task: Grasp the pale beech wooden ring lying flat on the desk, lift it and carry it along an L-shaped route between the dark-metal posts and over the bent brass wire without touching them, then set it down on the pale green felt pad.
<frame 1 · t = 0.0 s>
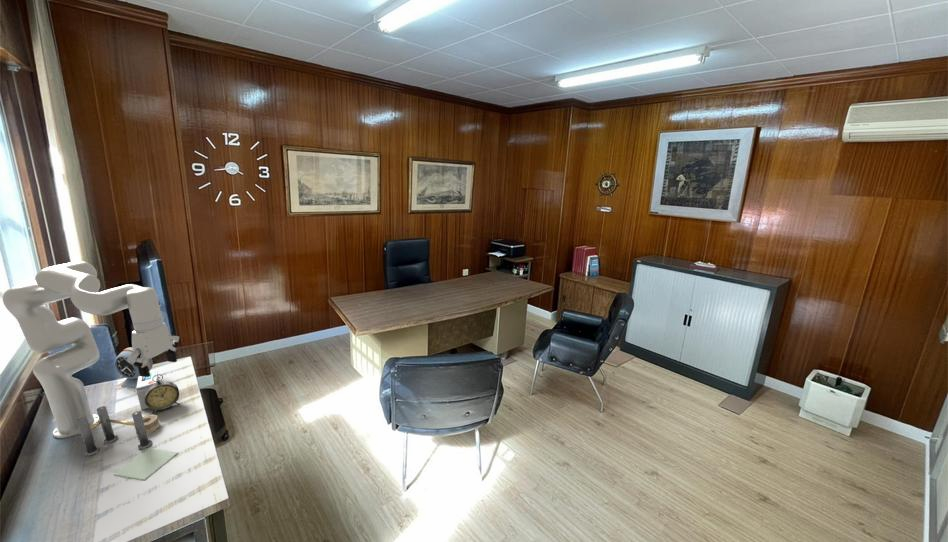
hand: (159, 368, 127), 31 cm above the table, fingers open, 9 cm apart
ring: (148, 429, 142), on the table
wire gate: (128, 442, 135), on the table
alarm clock 2: (139, 382, 172), on the table
alarm clock: (165, 408, 155), on the table
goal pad: (147, 463, 126), on the table
light bulb box: (152, 401, 159), on the table
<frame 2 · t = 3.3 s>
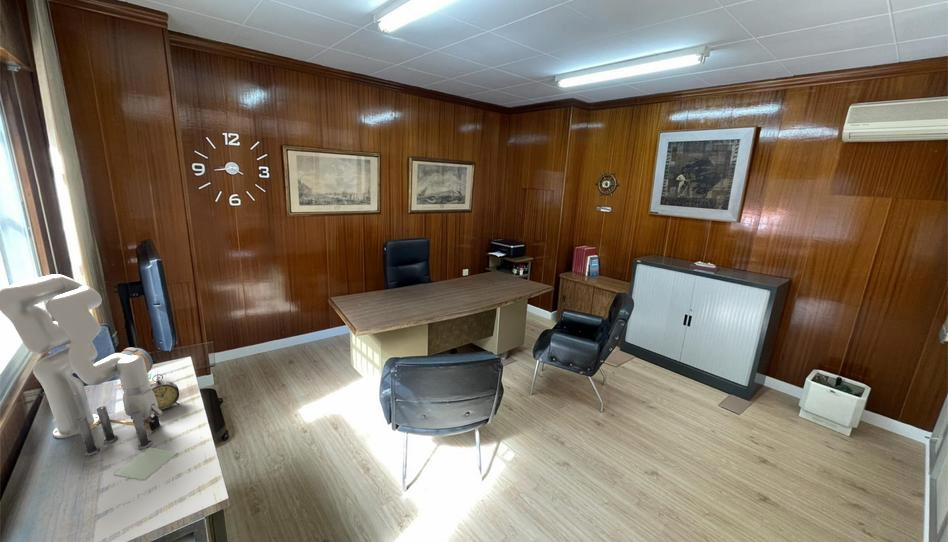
hand: (147, 427, 142), 1 cm above the table, fingers closed on ring, 6 cm apart
ring: (148, 429, 142), on the table, touching gripper
everything else where it was.
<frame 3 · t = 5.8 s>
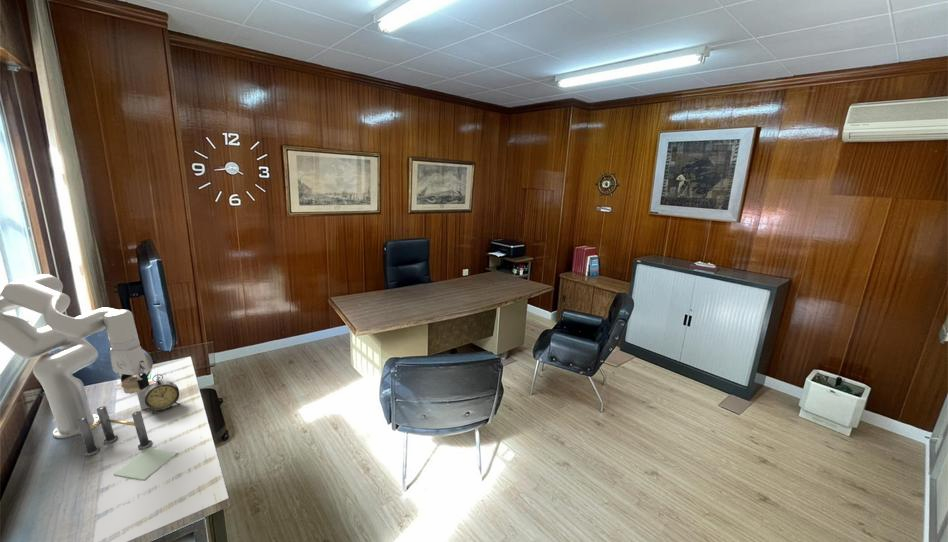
hand: (136, 386, 137), 19 cm above the table, fingers closed on ring, 6 cm apart
ring: (136, 388, 137), point 18 cm above the table, touching gripper
everything else where it was.
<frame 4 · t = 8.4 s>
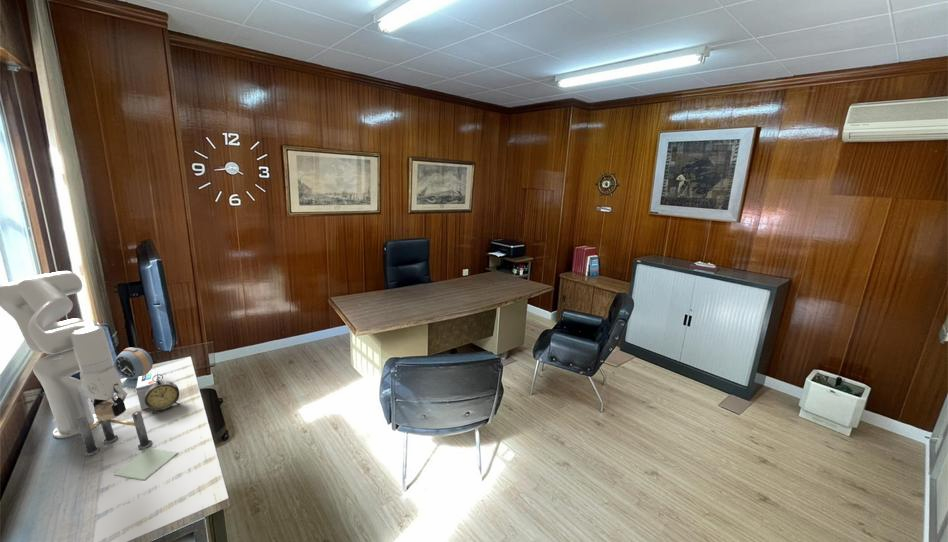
hand: (111, 411, 122), 20 cm above the table, fingers closed on ring, 6 cm apart
ring: (111, 414, 122), point 19 cm above the table, touching gripper
everything else where it was.
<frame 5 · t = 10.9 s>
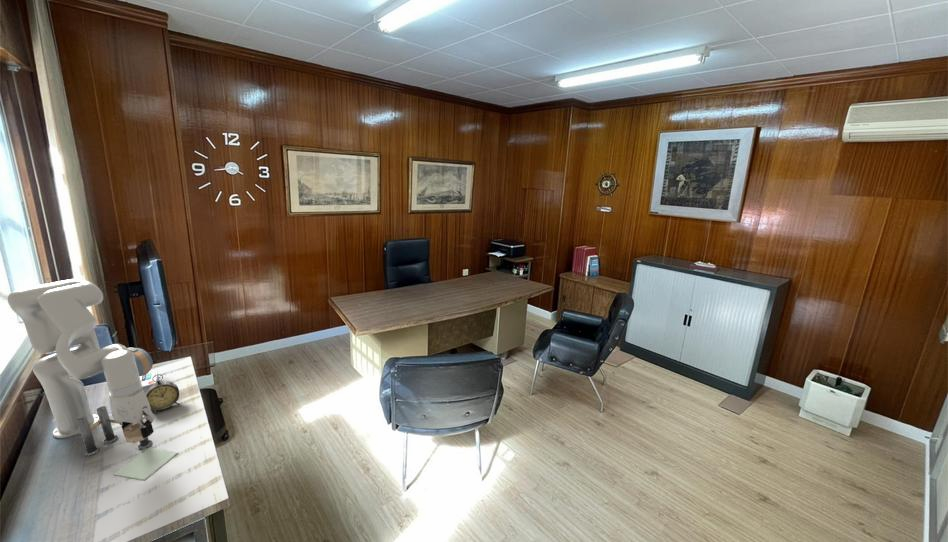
hand: (139, 433, 123), 13 cm above the table, fingers closed on ring, 6 cm apart
ring: (139, 435, 123), point 12 cm above the table, touching gripper
everything else where it was.
when the fingers open (2 cm above the table, at t = 13.3 s): ring stays where it is, resting on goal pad.
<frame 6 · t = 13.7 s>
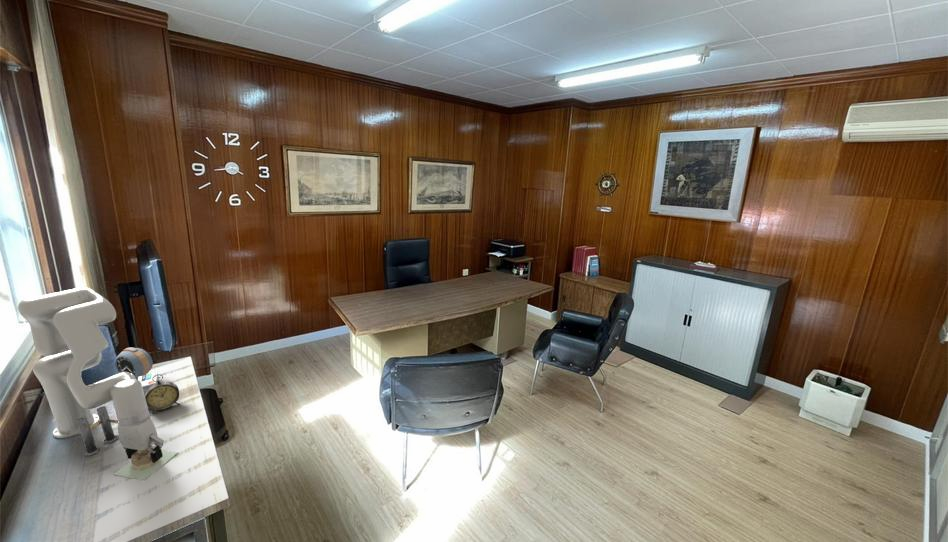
hand: (145, 457, 125), 2 cm above the table, fingers open, 9 cm apart
ring: (146, 462, 126), resting on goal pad
everything else where it was.
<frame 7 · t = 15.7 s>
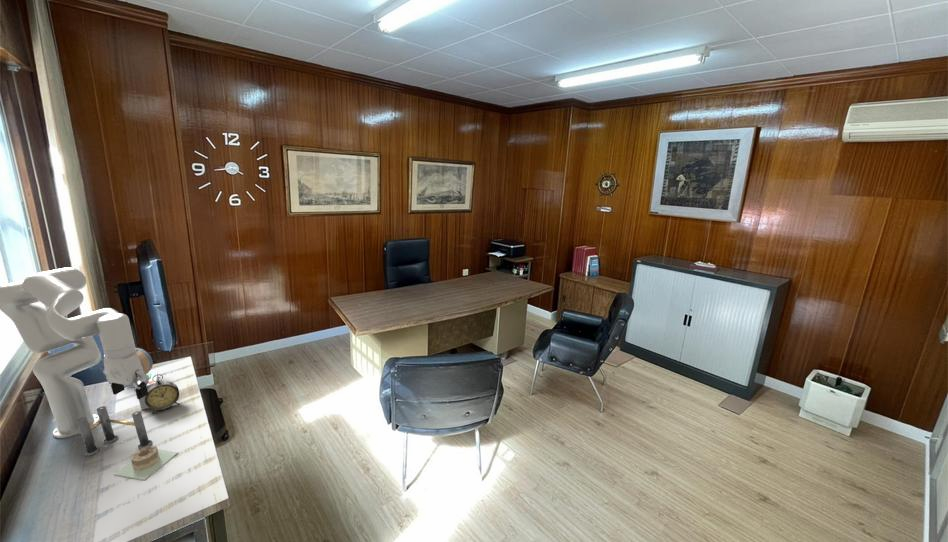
hand: (130, 394, 126), 23 cm above the table, fingers open, 9 cm apart
nothing on the table moved.
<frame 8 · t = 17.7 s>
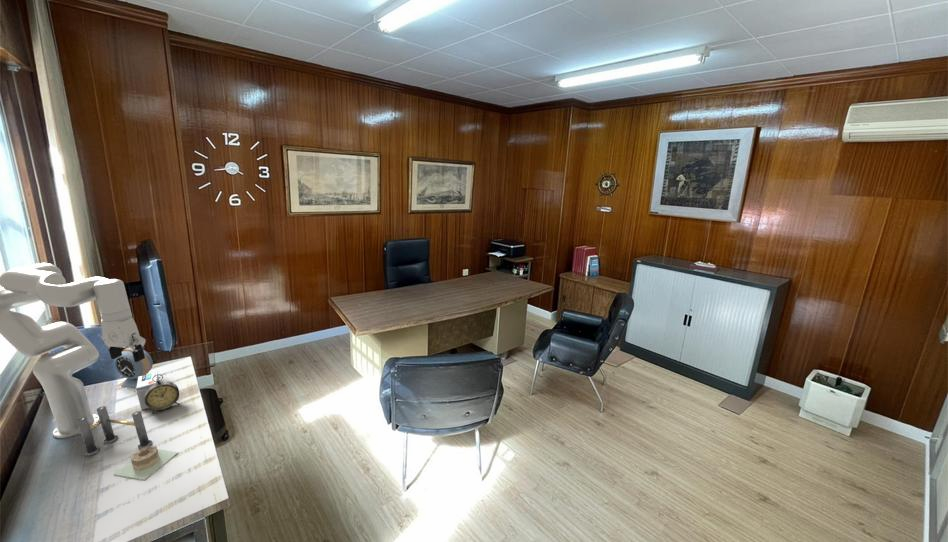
hand: (128, 358, 131), 32 cm above the table, fingers open, 9 cm apart
nothing on the table moved.
at the end: ring inside the target area on the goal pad (0.1 cm from its centre), point 0.4 cm above the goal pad's base; ring tilted 0°; ring touching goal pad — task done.
